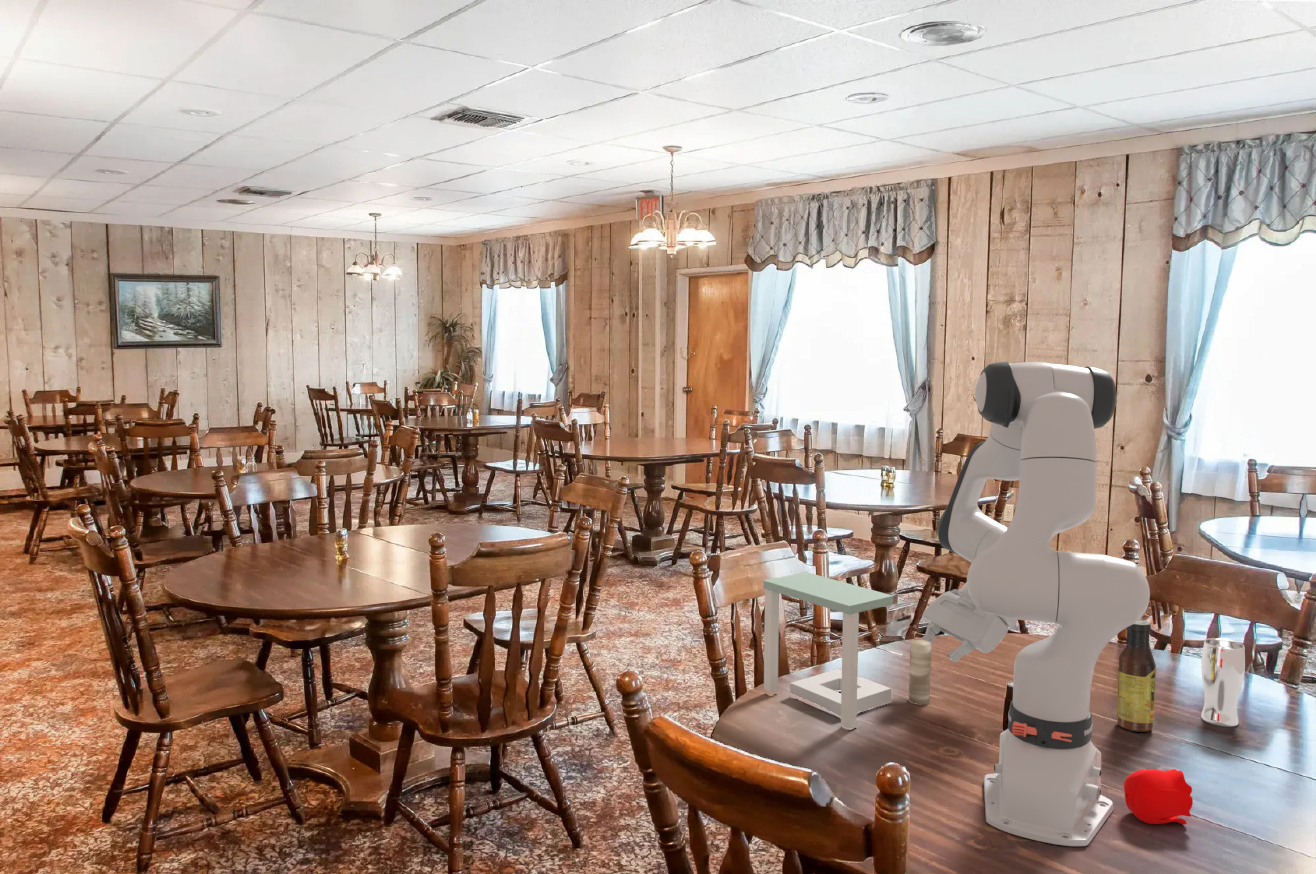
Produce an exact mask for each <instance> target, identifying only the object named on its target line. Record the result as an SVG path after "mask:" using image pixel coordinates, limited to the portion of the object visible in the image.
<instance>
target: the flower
mask: <svg viewBox="0 0 1316 874" xmlns="http://www.w3.org/2000/svg"><path fill="white" fill-rule="evenodd" d="M1123 790H1124V791H1123V792H1124V800H1125V804H1126V807H1127V808H1128V810H1129V811H1130V812H1131V813H1132V814H1133V815H1134V816H1135V818H1137V819H1138V820H1140V821H1141V822H1143V823H1146V824H1148V825H1159V824H1160V825H1161V824H1167V823H1171V822H1172V823H1173V822H1174V823H1175V822H1176V823H1177V824H1180V825H1183V826H1184V825H1187V824H1188V822H1187V821H1186V820H1185V819H1183V818H1181V817H1179V818H1178V816H1182V817H1183V816H1184V817H1192V814H1191V812H1190V811H1191V809H1192V808H1193V803H1194V801H1193V797H1192V792H1193V788H1192V786H1191V785H1190V784H1188V783H1187V782H1186V779H1185V774H1184V772H1183V771H1182V770H1178V769H1175V768H1172V769H1166V770H1161V769H1155V768H1154V769H1153V768H1150V769H1140V770H1136V771H1134V772H1132V773H1130V774H1129V775H1127V776H1126V778H1125V779H1124V783H1123Z"/></svg>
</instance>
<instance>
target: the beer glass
mask: <svg viewBox="0 0 1316 874" xmlns="http://www.w3.org/2000/svg"><path fill="white" fill-rule="evenodd" d="M1245 650H1246V648H1245V645H1244V644H1243V643H1242V642H1240V641H1237V640H1236V641H1235V640H1232V639H1228V638H1220V637H1211V638H1210V637H1209V638H1205V639H1204V640H1203V648H1202V654H1201V667H1200V668H1201V678H1202V685H1203V686H1202V687H1203V693H1204V702H1203V703H1204V704H1203V708H1202V711H1201V715H1200V717H1201V720H1203V721H1204V722H1206V723H1208V724H1211V725H1214V726H1218V727H1226V728H1231V727H1232V728H1234V727H1236V726H1238V725H1239V716H1238V701H1239V696H1240V694H1241V693H1240V692H1241V689H1242V686H1243V681H1244V678H1245V670H1246V653H1245Z"/></svg>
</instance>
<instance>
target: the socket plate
mask: <svg viewBox="0 0 1316 874" xmlns="http://www.w3.org/2000/svg"><path fill="white" fill-rule="evenodd" d="M834 690H842V669H840V668H836V669H833V670H830V671H826V672H822V673H819V674H816V675H813V676H809V677H806V678H802V679H798V680H795V681H791V682H790V684H789V694H790V693H792V694H795V695H797V696H799V697H802V698H803V699H807V700H809V701H811V702H813V703H816V704H818V705H820V706H821V707H824V708H826V709H827V710H829V711H832V712H834V713H836V714H838V715H839V716H841V693H839V692H836V691H834ZM890 701H891V702H892V688H891V687H889V686H885V685H884V684H880V683H878V682H875V681H872V680H870V679H867V678H866V677H861V676H858V675H857V712H858V711H864V710H867V709H869V708H872V707H876V706H878V705H881V704H883V703H887V702H890Z"/></svg>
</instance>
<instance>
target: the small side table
mask: <svg viewBox="0 0 1316 874" xmlns="http://www.w3.org/2000/svg"><path fill="white" fill-rule="evenodd" d="M762 581H763V582H762V583H763V584H762V588H763V589H764V635H763V636H764V643H763V644H764V648H763V649H764V650H763V653H764V654H763V660H764V662H763V665H764V666H763V691H764V690H767V691H769V692H773V691H778V692H779V638H780V637H779V633H780V632H779V629H780V628H779V627H780V626H779V625H780V614H779V613H780V594H781V595H784V596H787V597H790V598H794V599H797V600H800V601H804V602H806V603H810V604H813V605H816V606H819V607H822V608H823V607H824V608H827V609H829V610H833V611H835V612H836V611H837V612H839V613H842V644H841V645H842V649H841V651H842V652H841V653H842V654H841V657H842V658H841V670H842V690H841V719H840V726H841V725H843V726H844V727H846V728H854V727H856V728H857V716H858V714H857V676H858V671H859V668H858V665H859V664H858V662H859V628H860V627H859V622H860V621H859V619H860V613H863V612H866V611H870V610H871V611H872V610H874V609H879V608H883V607H887V606H890V605H891V606H892V605H894V595H892V594H889V593H885V592H881V591H877V590H874V589H869V588H866V587H862V586H858V585H855V584H852V583H847V582H844V581H841V580H836V579H833V578H829V577H825V576H823V575H818V574H815V573H810V572H807V571H805V572H800V573H795V574H790V575H784V576H779V577H774V578H770V579H764V580H762Z"/></svg>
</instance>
